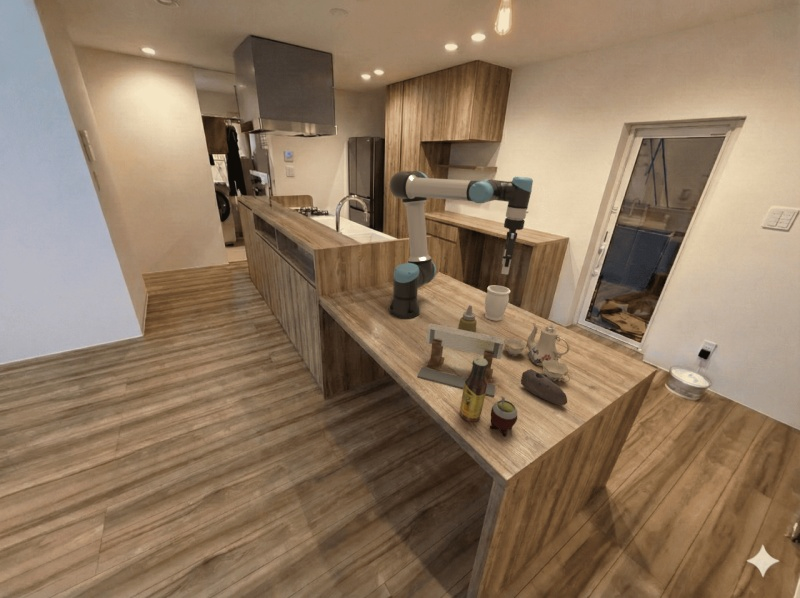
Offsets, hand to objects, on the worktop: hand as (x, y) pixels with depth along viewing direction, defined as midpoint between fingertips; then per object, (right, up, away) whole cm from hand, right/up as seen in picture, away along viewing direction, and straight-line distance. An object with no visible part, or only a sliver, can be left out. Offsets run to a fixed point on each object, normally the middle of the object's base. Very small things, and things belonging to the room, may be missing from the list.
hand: (504, 269), depth 136 cm
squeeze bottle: (-18, -32, -4) cm, 37 cm away
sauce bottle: (-24, -48, -40) cm, 67 cm away
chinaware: (+8, -38, -13) cm, 41 cm away
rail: (-22, -30, -23) cm, 44 cm away
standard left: (-31, -37, -17) cm, 51 cm away
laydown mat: (-26, -41, -26) cm, 55 cm away
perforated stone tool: (+2, -45, -31) cm, 55 cm away
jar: (+1, -22, +21) cm, 30 cm away
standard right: (-14, -40, -22) cm, 48 cm away
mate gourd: (-16, -50, -45) cm, 69 cm away
